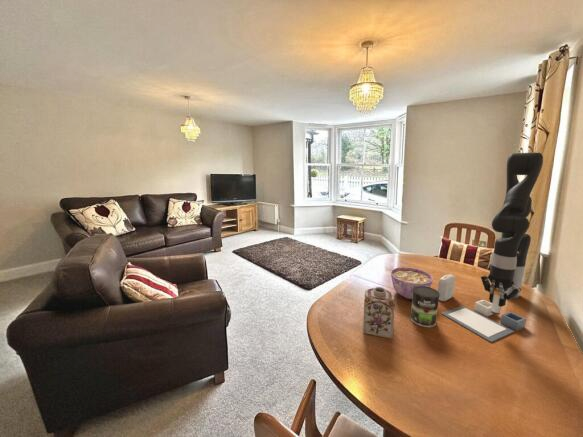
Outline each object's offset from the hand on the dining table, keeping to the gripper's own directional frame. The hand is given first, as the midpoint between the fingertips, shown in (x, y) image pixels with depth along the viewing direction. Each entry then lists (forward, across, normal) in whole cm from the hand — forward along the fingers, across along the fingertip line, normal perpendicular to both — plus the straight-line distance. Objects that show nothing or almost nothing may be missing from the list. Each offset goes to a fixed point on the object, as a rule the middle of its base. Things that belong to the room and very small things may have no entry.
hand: (496, 303), depth 104 cm
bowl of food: (+12, +34, +10) cm, 38 cm away
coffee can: (+11, +16, +21) cm, 29 cm away
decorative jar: (+11, +20, +43) cm, 49 cm away
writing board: (+11, +5, +2) cm, 13 cm away
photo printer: (+12, +25, -5) cm, 28 cm away
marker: (+4, 0, 0) cm, 4 cm away
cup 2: (+11, -2, -10) cm, 15 cm away
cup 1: (+12, +9, -10) cm, 18 cm away
